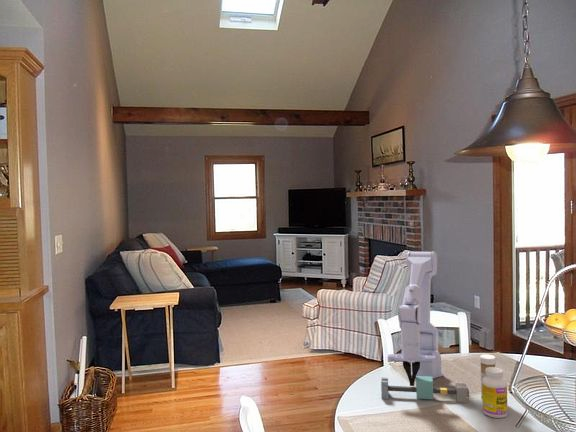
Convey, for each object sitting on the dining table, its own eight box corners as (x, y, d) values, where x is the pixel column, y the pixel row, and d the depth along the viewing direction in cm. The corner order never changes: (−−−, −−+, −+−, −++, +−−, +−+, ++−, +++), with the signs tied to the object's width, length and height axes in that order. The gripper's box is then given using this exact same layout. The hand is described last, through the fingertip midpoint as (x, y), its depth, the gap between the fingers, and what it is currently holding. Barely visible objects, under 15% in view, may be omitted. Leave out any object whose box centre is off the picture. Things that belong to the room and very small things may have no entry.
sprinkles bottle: (500, 400, 145) (499, 356, 144) (490, 403, 143) (488, 359, 142) (487, 394, 149) (486, 352, 148) (477, 398, 147) (476, 355, 146)
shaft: (386, 391, 151) (386, 386, 150) (386, 389, 152) (386, 385, 152) (462, 395, 145) (462, 390, 145) (462, 393, 147) (461, 388, 147)
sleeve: (416, 398, 147) (416, 380, 147) (416, 393, 151) (415, 375, 151) (433, 399, 146) (432, 381, 146) (432, 393, 150) (432, 376, 150)
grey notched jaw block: (381, 398, 149) (381, 382, 149) (382, 392, 154) (381, 376, 154) (388, 399, 149) (387, 382, 149) (388, 392, 154) (387, 376, 153)
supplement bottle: (497, 421, 132) (495, 375, 131) (477, 412, 138) (476, 368, 137) (513, 415, 135) (511, 370, 134) (493, 406, 141) (492, 364, 140)
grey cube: (457, 402, 145) (456, 387, 144) (456, 397, 148) (455, 383, 148) (469, 402, 144) (469, 388, 144) (467, 397, 147) (467, 383, 147)
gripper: (386, 345, 147) (388, 388, 147) (435, 347, 143) (436, 391, 144) (387, 338, 154) (388, 379, 154) (434, 340, 150) (435, 382, 151)
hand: (412, 384), depth 149 cm, fingers closed
